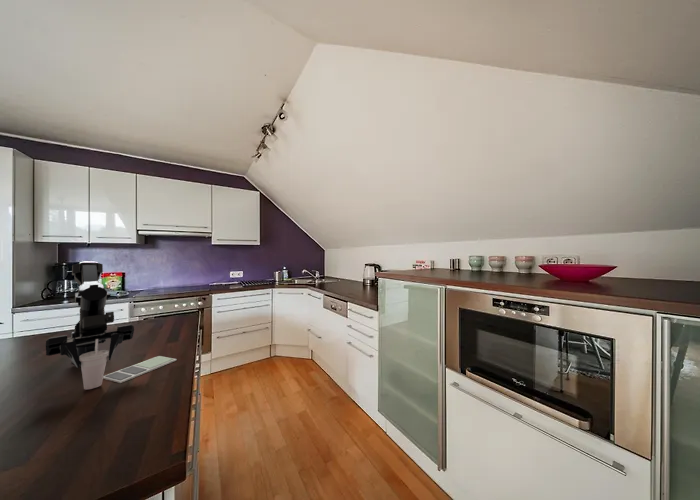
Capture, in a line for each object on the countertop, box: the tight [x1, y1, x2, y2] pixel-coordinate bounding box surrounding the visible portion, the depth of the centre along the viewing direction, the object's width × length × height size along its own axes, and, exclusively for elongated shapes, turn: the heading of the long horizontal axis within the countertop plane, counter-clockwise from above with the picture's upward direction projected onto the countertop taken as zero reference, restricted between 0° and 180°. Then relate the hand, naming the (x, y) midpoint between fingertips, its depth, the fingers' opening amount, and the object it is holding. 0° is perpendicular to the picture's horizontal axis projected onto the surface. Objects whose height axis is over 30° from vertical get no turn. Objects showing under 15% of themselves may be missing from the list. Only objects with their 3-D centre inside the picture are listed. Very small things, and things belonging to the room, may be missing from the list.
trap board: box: [103, 355, 177, 384], centre depth 86 cm, size 10×18×1 cm, turn 161°
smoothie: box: [79, 339, 109, 390], centre depth 73 cm, size 6×6×14 cm
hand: (94, 363), depth 72 cm, fingers closed on smoothie, 6 cm apart
